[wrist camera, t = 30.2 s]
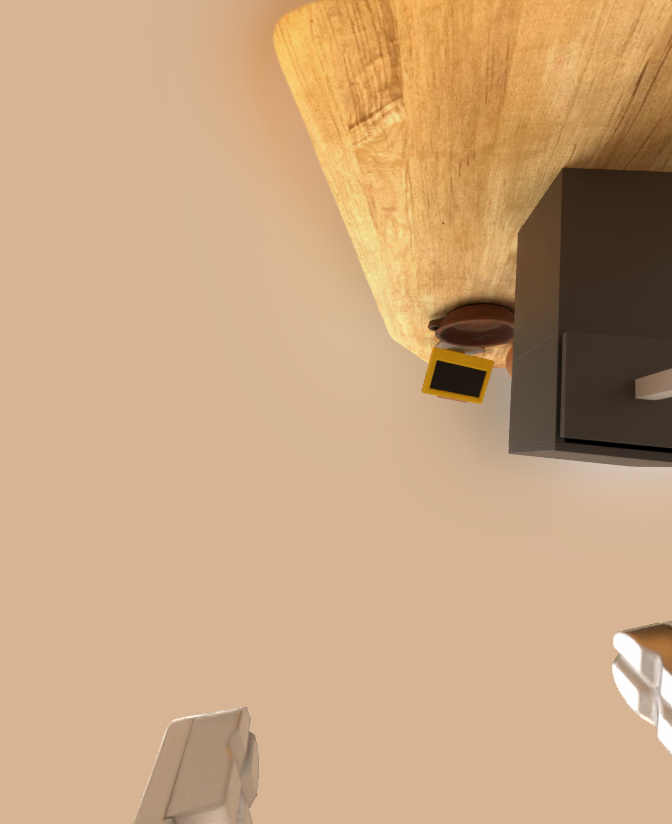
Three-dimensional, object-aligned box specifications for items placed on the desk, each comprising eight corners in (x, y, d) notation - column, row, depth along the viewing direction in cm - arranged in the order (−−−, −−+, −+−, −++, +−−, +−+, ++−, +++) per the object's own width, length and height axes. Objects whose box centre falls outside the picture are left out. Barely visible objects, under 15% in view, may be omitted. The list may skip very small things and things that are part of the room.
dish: (424, 300, 78) (423, 322, 78) (539, 294, 71) (538, 318, 70) (432, 330, 94) (430, 348, 94) (526, 328, 87) (525, 347, 86)
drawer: (630, 289, 29) (630, 428, 28) (843, 303, 28) (856, 449, 26) (518, 361, 49) (515, 443, 48) (638, 371, 48) (638, 455, 47)
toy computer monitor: (495, 349, 104) (492, 403, 102) (476, 356, 111) (473, 406, 109) (436, 335, 97) (432, 391, 95) (420, 342, 105) (416, 395, 103)
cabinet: (562, 167, 42) (554, 450, 37) (710, 173, 41) (720, 467, 36) (517, 233, 54) (508, 453, 49) (631, 239, 52) (631, 466, 48)
